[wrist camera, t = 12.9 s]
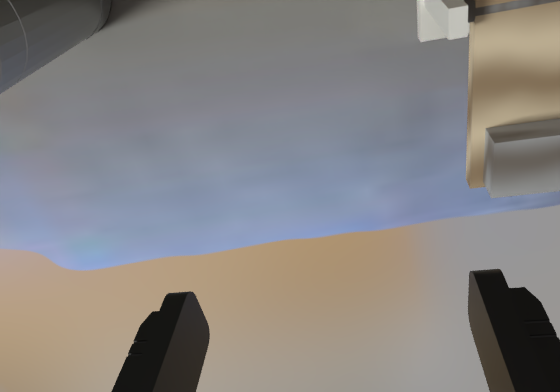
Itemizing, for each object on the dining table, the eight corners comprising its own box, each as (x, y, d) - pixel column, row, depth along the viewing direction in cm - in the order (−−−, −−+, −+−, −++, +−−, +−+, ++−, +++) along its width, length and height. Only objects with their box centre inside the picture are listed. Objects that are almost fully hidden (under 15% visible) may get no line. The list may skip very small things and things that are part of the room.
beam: (571, 166, 38) (594, 193, 35) (459, 179, 40) (471, 206, 37) (657, -333, 22) (714, -371, 19) (466, -276, 24) (487, -301, 21)
